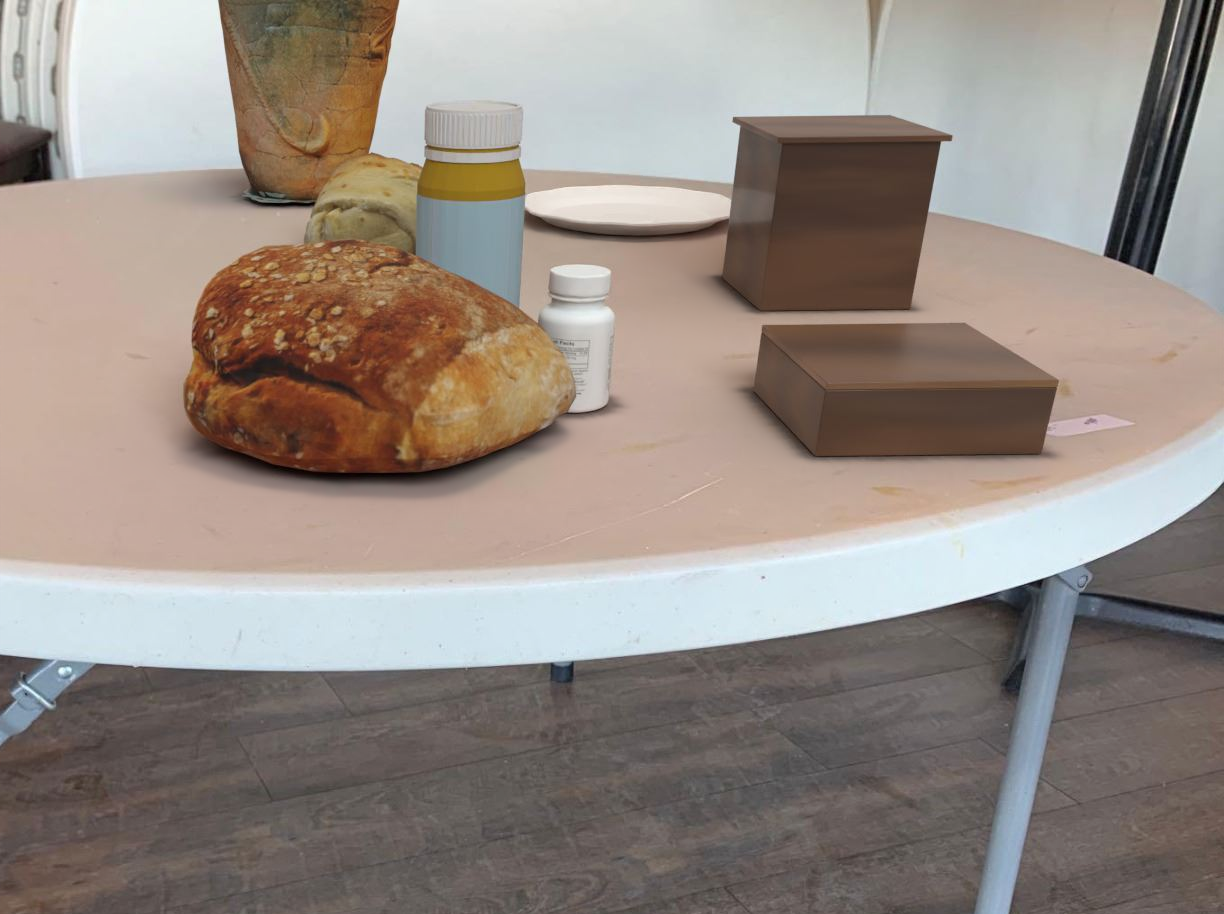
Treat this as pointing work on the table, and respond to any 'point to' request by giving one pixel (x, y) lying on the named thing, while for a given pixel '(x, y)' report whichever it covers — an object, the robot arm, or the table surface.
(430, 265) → the bread
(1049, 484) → the table surface
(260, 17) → the vase
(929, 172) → the wooden cabinet block
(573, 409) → the pill bottle
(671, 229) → the plate
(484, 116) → the bottle
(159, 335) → the table surface
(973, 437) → the wooden lidded box
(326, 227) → the pastry
